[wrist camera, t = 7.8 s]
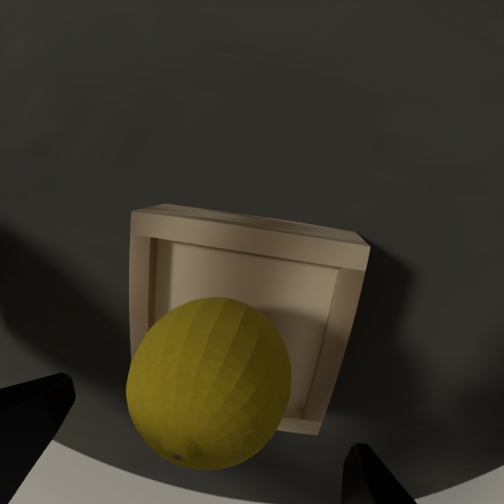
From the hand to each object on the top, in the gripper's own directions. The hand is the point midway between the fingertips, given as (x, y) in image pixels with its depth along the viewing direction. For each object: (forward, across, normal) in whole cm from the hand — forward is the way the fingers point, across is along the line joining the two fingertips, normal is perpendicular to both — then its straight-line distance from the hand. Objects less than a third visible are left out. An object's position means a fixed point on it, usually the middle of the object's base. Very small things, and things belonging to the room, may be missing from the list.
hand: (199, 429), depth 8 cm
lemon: (+7, 0, 0) cm, 7 cm away
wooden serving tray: (+10, 0, 0) cm, 10 cm away
